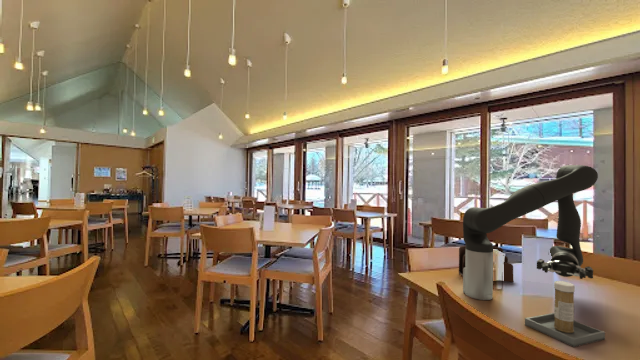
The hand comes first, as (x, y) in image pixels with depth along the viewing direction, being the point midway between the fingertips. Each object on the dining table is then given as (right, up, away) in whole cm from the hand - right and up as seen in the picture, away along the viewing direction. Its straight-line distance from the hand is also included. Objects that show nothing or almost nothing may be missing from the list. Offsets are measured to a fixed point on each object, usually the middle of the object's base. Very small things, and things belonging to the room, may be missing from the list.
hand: (563, 272), depth 94 cm
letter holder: (-1, -16, +43) cm, 46 cm away
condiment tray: (-6, -15, -7) cm, 18 cm away
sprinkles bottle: (-6, -14, -8) cm, 17 cm away
